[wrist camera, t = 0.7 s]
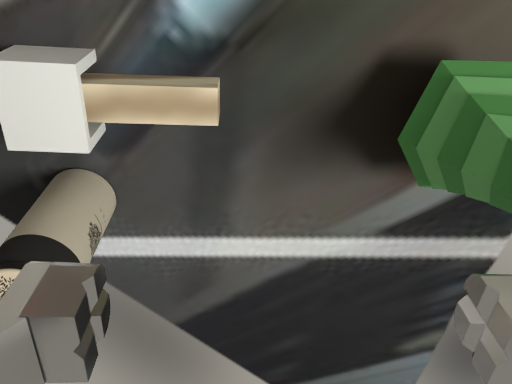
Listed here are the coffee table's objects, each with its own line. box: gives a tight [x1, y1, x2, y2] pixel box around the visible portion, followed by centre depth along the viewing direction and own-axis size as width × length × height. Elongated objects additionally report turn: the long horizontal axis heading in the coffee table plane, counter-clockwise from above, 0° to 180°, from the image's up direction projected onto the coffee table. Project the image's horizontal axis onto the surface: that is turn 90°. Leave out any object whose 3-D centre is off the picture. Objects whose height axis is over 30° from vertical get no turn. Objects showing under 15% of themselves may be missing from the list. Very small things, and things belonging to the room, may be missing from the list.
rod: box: [80, 73, 220, 126], centre depth 45 cm, size 4×18×4 cm, turn 88°
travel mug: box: [0, 169, 116, 300], centre depth 45 cm, size 8×8×18 cm
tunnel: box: [0, 45, 106, 153], centre depth 43 cm, size 9×8×6 cm
